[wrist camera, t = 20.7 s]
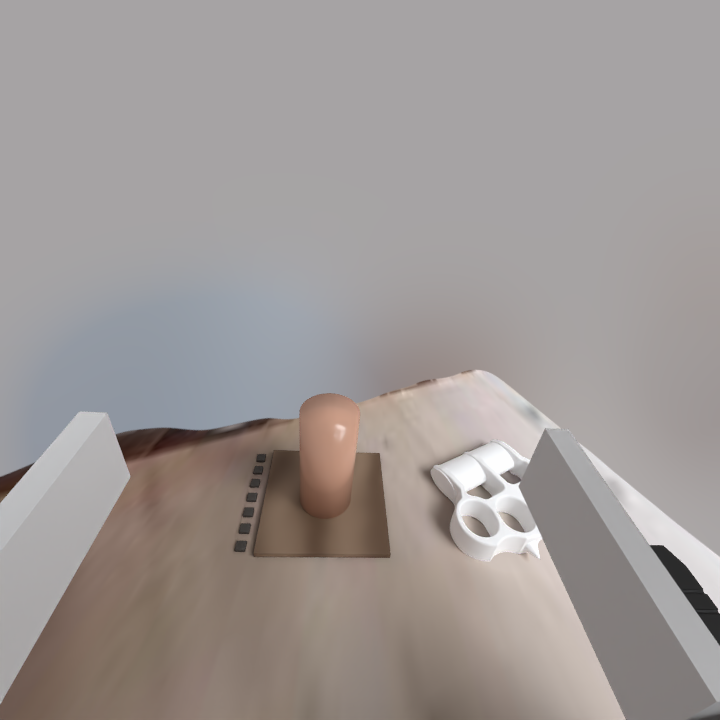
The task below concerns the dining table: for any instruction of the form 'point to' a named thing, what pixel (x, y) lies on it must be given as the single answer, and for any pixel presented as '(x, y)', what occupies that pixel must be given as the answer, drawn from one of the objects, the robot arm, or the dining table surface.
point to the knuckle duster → (488, 501)
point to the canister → (327, 454)
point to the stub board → (314, 535)
